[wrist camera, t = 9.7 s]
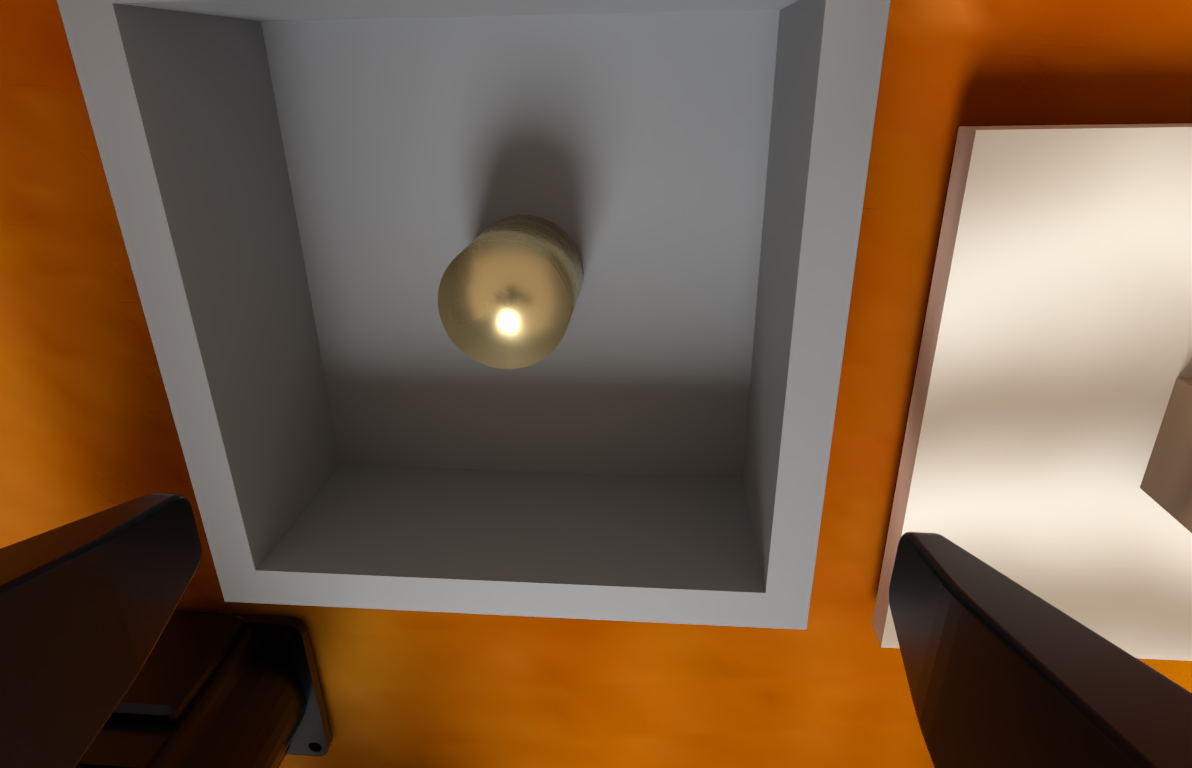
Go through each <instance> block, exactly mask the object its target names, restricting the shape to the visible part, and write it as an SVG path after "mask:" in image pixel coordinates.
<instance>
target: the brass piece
mask: <svg viewBox="0 0 1192 768" xmlns="http://www.w3.org/2000/svg"><path fill="white" fill-rule="evenodd" d="M582 283H583V265H582V260H581V257H580V254H579V251H578V249H577V247H576V245H575V244H574V242H573V241H572V239H571V238H570V237H569V236H568V235H567V234H566V232H564V231H563V230H562V229H561V228H560V227H558V226H557V225H555V224H554V223H552V222H550V221H548V220H546V219H543V218H541V217H537V216H532V215H515V216H510V217H506V218H503V219H501V220H499V221H497V222H495V223H494V224H492V225H491V226H489V227H488V228H487V229H486V230H485V231H484V232H483V233H482V234H480V235H479V236H478V237H477V238H476V239H475V240H474V241H473V242H472V243H471V244H469V245H468V246H467V247H466V248H465V249H464V250H463V251H462V252H461V253H460V254H459V255H457V256H456V257H455V258H454V259H453V260H452V262H451V263H450V264H449V265H448V267H447V268H446V270H445V272H444V274H443V276H442V279H441V281H440V285H439V289H438V310H439V315H440V318H441V322H442V324H443V326H444V329H445V331H446V332H447V334H448V336H449V337H450V339H451V340H452V341H453V342H454V344H455V345H456V346H457V347H458V348H459V349H460V350H461V351H462V352H464V353H465V354H466V355H467V356H469V357H470V358H472V359H474V360H475V361H477V362H480V363H482V364H484V365H487V366H490V367H495V368H501V369H517V368H523V367H527V366H530V365H533V364H535V363H537V362H539V361H541V360H543V359H544V358H546V357H547V356H548V355H549V354H551V353H552V352H553V351H554V350H555V349H556V347H557V346H558V345H559V343H560V342H561V340H562V339H563V337H564V335H565V333H566V330H567V327H568V325H569V322H570V319H571V316H572V314H573V311H574V308H575V305H576V303H577V300H578V297H579V294H580V291H581V288H582Z"/></svg>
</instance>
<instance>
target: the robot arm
mask: <svg viewBox="0 0 1192 768" xmlns="http://www.w3.org/2000/svg"><path fill="white" fill-rule="evenodd" d="M201 555H202V548H201V543H200V539H199V535H198V531H197V527H196V523H195V519H194V515H193V511H192V507H191V504H190V502H189V501H188V499H187V498H186V497H184V496H182V495H179V494H162V493H152V494H148V495H145V496H142V497H139V498H137V499H134V500H131V501H128V502H126V503H123V504H120V505H118V506H115V507H112V508H110V509H107V510H104V511H101V512H99V513H96V514H93V515H91V516H88V517H85V518H83V519H80V520H77V521H74V522H72V523H69V524H66V525H64V526H61V527H58V528H55V529H53V530H50V531H47V532H45V533H42V534H39V535H37V536H34V537H31V538H28V539H26V540H23V541H20V542H18V543H15V544H12V545H9V546H7V547H4V548H1V549H0V768H279V766H280V765H281V763H282V761H283V759H284V757H285V755H286V754H292V755H307V756H323V755H325V754H326V753H327V751H328V750H329V747H330V745H331V743H332V736H331V731H330V727H329V723H328V718H327V714H326V709H325V705H324V700H323V696H322V691H321V687H320V683H319V678H318V674H317V669H316V665H315V660H314V656H313V651H312V647H311V643H310V638H309V634H308V629H307V627H306V624H305V623H304V622H303V621H302V620H300V619H298V618H296V617H290V616H270V615H249V614H229V613H209V612H189V611H174V610H175V609H176V607H177V605H178V603H179V601H180V599H181V598H182V596H183V594H184V592H185V590H186V589H187V587H188V585H189V583H190V581H191V580H192V578H193V576H194V574H195V572H196V570H197V569H198V566H199V564H200V560H201ZM889 605H890V610H891V614H892V618H893V622H894V626H895V630H896V634H897V638H898V642H899V647H900V651H901V655H902V659H903V663H904V667H905V671H906V675H907V679H908V683H909V687H910V691H911V695H912V699H913V703H914V707H915V711H916V714H917V718H918V722H919V725H920V728H921V731H922V734H923V737H924V740H925V743H926V745H927V748H928V751H929V754H930V756H931V759H932V762H933V764H934V767H935V768H1192V693H1190V692H1189V691H1187V690H1186V689H1184V688H1183V687H1181V686H1179V685H1178V684H1176V683H1175V682H1173V681H1171V680H1170V679H1168V678H1167V677H1165V676H1164V675H1162V674H1160V673H1159V672H1157V671H1156V670H1154V669H1152V668H1151V667H1149V666H1148V665H1146V664H1145V663H1143V662H1141V661H1140V660H1138V659H1137V658H1135V657H1134V656H1132V655H1130V654H1129V653H1127V652H1126V651H1124V650H1122V649H1121V648H1119V647H1118V646H1116V645H1115V644H1113V643H1111V642H1110V641H1108V640H1107V639H1105V638H1103V637H1102V636H1100V635H1099V634H1097V633H1096V632H1094V631H1092V630H1091V629H1089V628H1088V627H1086V626H1084V625H1083V624H1081V623H1080V622H1078V621H1077V620H1075V619H1073V618H1072V617H1070V616H1069V615H1067V614H1065V613H1064V612H1062V611H1061V610H1059V609H1058V608H1056V607H1054V606H1053V605H1051V604H1050V603H1048V602H1047V601H1045V600H1043V599H1042V598H1040V597H1039V596H1037V595H1035V594H1034V593H1032V592H1031V591H1029V590H1028V589H1026V588H1024V587H1023V586H1021V585H1020V584H1018V583H1016V582H1015V581H1013V580H1012V579H1010V578H1009V577H1007V576H1005V575H1004V574H1002V573H1001V572H999V571H997V570H996V569H994V568H993V567H991V566H990V565H988V564H986V563H985V562H983V561H982V560H980V559H979V558H977V557H975V556H974V555H972V554H971V553H969V552H967V551H966V550H964V549H963V548H961V547H960V546H958V545H956V544H955V543H953V542H952V541H950V540H948V539H947V538H945V537H944V536H942V535H940V534H937V533H922V532H906V533H905V534H903V535H902V536H901V538H900V540H899V543H898V547H897V552H896V557H895V561H894V566H893V571H892V576H891V580H890V585H889ZM290 631H292V632H293V633H292V632H290Z"/></svg>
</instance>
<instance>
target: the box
mask: <svg viewBox="0 0 1192 768" xmlns="http://www.w3.org/2000/svg"><path fill="white" fill-rule="evenodd" d="M890 1H891V0H57V3H58V6H59V10H60V14H61V17H62V21H63V24H64V28H65V32H66V35H67V39H68V42H69V46H70V49H71V53H72V57H73V60H74V64H75V67H76V71H77V75H78V78H79V82H80V85H81V89H82V92H83V96H84V100H85V103H86V107H87V110H88V114H89V117H90V121H91V125H92V128H93V132H94V135H95V139H96V143H97V146H98V150H99V153H100V157H101V160H102V164H103V168H104V171H105V175H106V178H107V182H108V186H109V189H110V193H111V196H112V200H113V203H114V207H115V211H116V214H117V218H118V221H119V225H120V229H121V232H122V236H123V239H124V243H125V246H126V250H127V254H128V257H129V261H130V264H131V268H132V272H133V275H134V279H135V282H136V286H137V289H138V293H139V297H140V300H141V304H142V307H143V311H144V314H145V318H146V322H147V325H148V329H149V332H150V336H151V340H152V343H153V347H154V350H155V354H156V357H157V361H158V365H159V368H160V372H161V375H162V379H163V383H164V386H165V390H166V393H167V397H168V400H169V404H170V408H171V411H172V415H173V418H174V422H175V426H176V429H177V433H178V436H179V440H180V443H181V447H182V451H183V454H184V458H185V461H186V465H187V468H188V472H189V476H190V479H191V483H192V486H193V490H194V494H195V497H196V501H197V504H198V508H199V511H200V515H201V519H202V522H203V526H204V529H205V533H206V537H207V540H208V544H209V547H210V551H211V554H212V558H213V562H214V565H215V569H216V572H217V576H218V580H219V583H220V587H221V590H222V594H223V597H224V601H225V602H242V603H262V604H283V605H304V606H324V607H345V608H366V609H387V610H407V611H428V612H449V613H469V614H490V615H511V616H532V617H552V618H573V619H594V620H614V621H635V622H656V623H677V624H697V625H718V626H739V627H759V628H780V629H801V630H806V628H807V621H808V613H809V606H810V598H811V591H812V583H813V576H814V568H815V561H816V553H817V546H818V538H819V531H820V523H821V516H822V509H823V501H824V494H825V486H826V479H827V471H828V464H829V456H830V449H831V441H832V434H833V426H834V419H835V411H836V404H837V397H838V389H839V382H840V374H841V367H842V359H843V352H844V344H845V337H846V329H847V322H848V314H849V307H850V299H851V292H852V285H853V277H854V270H855V262H856V255H857V247H858V240H859V232H860V225H861V217H862V210H863V202H864V195H865V187H866V180H867V173H868V165H869V158H870V150H871V143H872V135H873V128H874V120H875V113H876V105H877V98H878V90H879V83H880V75H881V68H882V60H883V53H884V46H885V38H886V31H887V23H888V16H889V8H890ZM515 215H532V216H537V217H541V218H543V219H546V220H548V221H550V222H552V223H554V224H555V225H557V226H558V227H560V228H561V229H562V230H563V231H564V232H566V234H567V235H568V236H569V237H570V238H571V239H572V241H573V242H574V244H575V245H576V247H577V249H578V251H579V254H580V257H581V260H582V265H583V283H582V288H581V291H580V294H579V297H578V300H577V303H576V305H575V308H574V311H573V314H572V316H571V319H570V322H569V325H568V327H567V330H566V333H565V335H564V337H563V339H562V340H561V342H560V343H559V345H558V346H557V347H556V349H555V350H554V351H553V352H552V353H551V354H549V355H548V356H547V357H546V358H544V359H543V360H541V361H539V362H537V363H535V364H533V365H530V366H527V367H523V368H517V369H501V368H495V367H490V366H487V365H484V364H482V363H480V362H477V361H475V360H474V359H472V358H470V357H469V356H467V355H466V354H465V353H464V352H462V351H461V350H460V349H459V348H458V347H457V346H456V345H455V344H454V342H453V341H452V340H451V339H450V337H449V336H448V334H447V332H446V331H445V329H444V326H443V324H442V322H441V318H440V315H439V310H438V289H439V285H440V281H441V279H442V276H443V274H444V272H445V270H446V268H447V267H448V265H449V264H450V263H451V262H452V260H453V259H454V258H455V257H456V256H457V255H459V254H460V253H461V252H462V251H463V250H464V249H465V248H466V247H467V246H468V245H469V244H471V243H472V242H473V241H474V240H475V239H476V238H477V237H478V236H479V235H480V234H482V233H483V232H484V231H485V230H486V229H487V228H488V227H489V226H491V225H492V224H494V223H495V222H497V221H499V220H501V219H503V218H506V217H510V216H515Z"/></svg>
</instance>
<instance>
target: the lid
mask: <svg viewBox="0 0 1192 768" xmlns="http://www.w3.org/2000/svg"><path fill="white" fill-rule="evenodd" d="M906 532H922V533H937V534H940V535H942V536H944V537H945V538H947V539H948V540H950V541H952V542H953V543H955V544H956V545H958V546H960V547H961V548H963V549H964V550H966V551H967V552H969V553H971V554H972V555H974V556H975V557H977V558H979V559H980V560H982V561H983V562H985V563H986V564H988V565H990V566H991V567H993V568H994V569H996V570H997V571H999V572H1001V573H1002V574H1004V575H1005V576H1007V577H1009V578H1010V579H1012V580H1013V581H1015V582H1016V583H1018V584H1020V585H1021V586H1023V587H1024V588H1026V589H1028V590H1029V591H1031V592H1032V593H1034V594H1035V595H1037V596H1039V597H1040V598H1042V599H1043V600H1045V601H1047V602H1048V603H1050V604H1051V605H1053V606H1054V607H1056V608H1058V609H1059V610H1061V611H1062V612H1064V613H1065V614H1067V615H1069V616H1070V617H1072V618H1073V619H1075V620H1077V621H1078V622H1080V623H1081V624H1083V625H1084V626H1086V627H1088V628H1089V629H1091V630H1092V631H1094V632H1096V633H1097V634H1099V635H1100V636H1102V637H1103V638H1105V639H1107V640H1108V641H1110V642H1111V643H1113V644H1115V645H1116V646H1118V647H1119V648H1121V649H1122V650H1124V651H1126V652H1127V653H1129V654H1130V655H1132V656H1134V657H1135V658H1138V659H1162V660H1185V661H1192V123H1168V124H1099V125H1029V126H960V127H959V129H958V135H957V140H956V146H955V152H954V158H953V163H952V169H951V175H950V180H949V186H948V192H947V198H946V203H945V209H944V215H943V221H942V226H941V232H940V238H939V244H938V249H937V255H936V261H935V266H934V272H933V278H932V284H931V289H930V295H929V301H928V307H927V312H926V318H925V324H924V329H923V335H922V341H921V347H920V352H919V358H918V364H917V370H916V375H915V381H914V387H913V393H912V398H911V404H910V410H909V415H908V421H907V427H906V433H905V438H904V444H903V450H902V456H901V461H900V467H899V473H898V478H897V484H896V490H895V496H894V501H893V507H892V513H891V519H890V524H889V530H888V536H887V542H886V547H885V553H884V559H883V564H882V570H881V576H880V582H879V587H878V593H877V599H876V605H875V610H874V616H873V622H872V625H873V628H874V631H875V633H876V636H877V639H878V641H879V644H880V646H881V647H883V648H900V647H899V642H898V638H897V634H896V630H895V626H894V622H893V618H892V614H891V610H890V605H889V585H890V580H891V576H892V571H893V566H894V561H895V557H896V552H897V547H898V543H899V540H900V538H901V536H902V535H903V534H905V533H906Z"/></svg>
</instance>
